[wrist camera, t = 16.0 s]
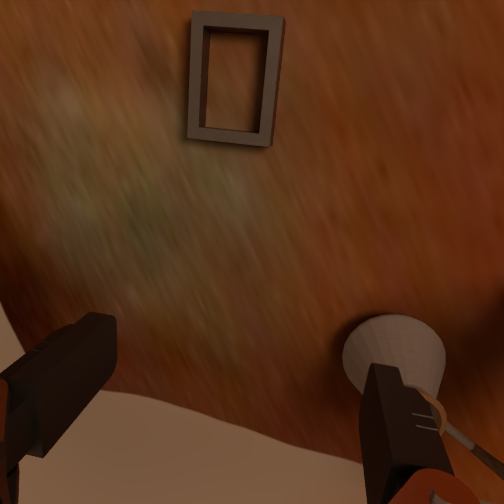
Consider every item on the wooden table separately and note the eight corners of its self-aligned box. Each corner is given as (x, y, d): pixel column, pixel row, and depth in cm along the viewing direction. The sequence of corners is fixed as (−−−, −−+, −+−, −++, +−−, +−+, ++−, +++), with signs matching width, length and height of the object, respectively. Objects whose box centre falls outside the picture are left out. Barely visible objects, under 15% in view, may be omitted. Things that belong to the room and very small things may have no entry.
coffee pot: (323, 356, 50) (323, 448, 36) (375, 286, 46) (397, 359, 32) (468, 438, 50) (523, 560, 36) (532, 375, 46) (622, 486, 32)
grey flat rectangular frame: (285, 22, 39) (283, 16, 37) (272, 145, 43) (269, 147, 41) (199, 16, 40) (191, 10, 38) (194, 136, 44) (187, 137, 42)
